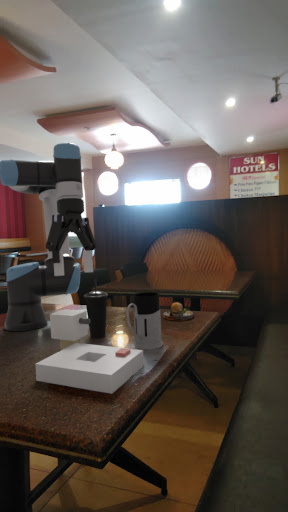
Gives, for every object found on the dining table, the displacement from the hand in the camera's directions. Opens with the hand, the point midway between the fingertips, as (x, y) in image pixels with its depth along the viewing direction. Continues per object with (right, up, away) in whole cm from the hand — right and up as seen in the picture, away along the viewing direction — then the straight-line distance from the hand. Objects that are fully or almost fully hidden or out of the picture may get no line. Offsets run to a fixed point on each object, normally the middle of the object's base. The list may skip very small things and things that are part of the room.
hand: (75, 274), depth 100 cm
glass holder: (+19, -22, +2) cm, 29 cm away
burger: (+33, -19, +36) cm, 52 cm away
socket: (+7, -23, -15) cm, 29 cm away
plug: (0, -22, +1) cm, 22 cm away
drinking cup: (+5, -21, +15) cm, 26 cm away
